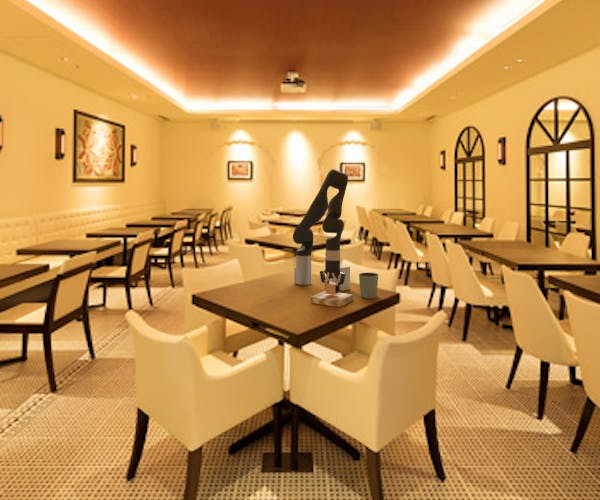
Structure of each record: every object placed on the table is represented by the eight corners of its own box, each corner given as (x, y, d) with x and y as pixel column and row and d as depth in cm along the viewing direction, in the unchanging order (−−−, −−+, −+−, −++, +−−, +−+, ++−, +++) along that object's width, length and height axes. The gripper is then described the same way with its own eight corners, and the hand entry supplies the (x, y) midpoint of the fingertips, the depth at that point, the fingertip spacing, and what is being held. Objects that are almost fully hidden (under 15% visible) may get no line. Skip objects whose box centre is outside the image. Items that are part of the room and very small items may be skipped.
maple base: (310, 302, 233) (310, 296, 233) (325, 296, 247) (325, 290, 246) (339, 307, 225) (339, 301, 224) (353, 300, 238) (353, 294, 238)
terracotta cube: (325, 293, 234) (325, 283, 234) (330, 291, 239) (330, 281, 238) (334, 294, 232) (334, 284, 231) (338, 292, 236) (338, 283, 235)
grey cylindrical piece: (379, 298, 242) (380, 275, 241) (360, 298, 241) (361, 276, 240) (375, 293, 252) (375, 272, 251) (356, 294, 251) (357, 272, 250)
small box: (350, 289, 263) (350, 266, 261) (342, 290, 259) (342, 267, 257) (340, 286, 269) (340, 264, 267) (332, 288, 265) (332, 265, 263)
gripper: (316, 258, 233) (316, 291, 236) (342, 261, 226) (341, 295, 228) (323, 256, 239) (323, 288, 242) (349, 259, 232) (348, 292, 235)
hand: (332, 291), depth 235 cm, fingers closed on terracotta cube, 5 cm apart
